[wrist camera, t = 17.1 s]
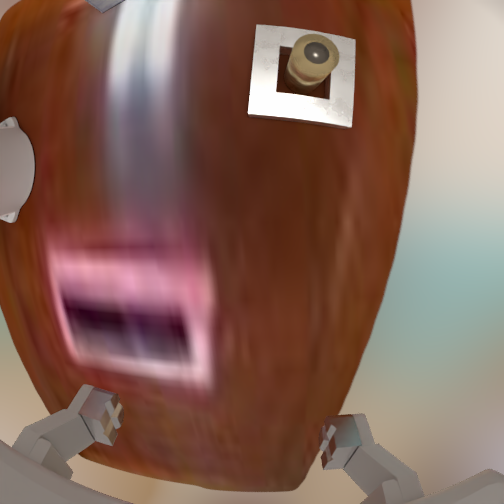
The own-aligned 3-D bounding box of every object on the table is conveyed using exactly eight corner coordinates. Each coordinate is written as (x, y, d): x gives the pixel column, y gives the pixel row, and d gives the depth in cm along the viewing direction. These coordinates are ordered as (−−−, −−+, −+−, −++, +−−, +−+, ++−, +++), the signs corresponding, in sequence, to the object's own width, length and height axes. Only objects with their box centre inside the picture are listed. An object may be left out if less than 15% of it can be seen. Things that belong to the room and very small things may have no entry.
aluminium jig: (249, 117, 32) (248, 113, 29) (256, 33, 28) (256, 24, 25) (344, 129, 32) (351, 127, 29) (348, 47, 28) (355, 39, 26)
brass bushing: (282, 91, 31) (291, 69, 22) (284, 61, 30) (294, 30, 20) (317, 96, 31) (339, 77, 22) (319, 65, 30) (340, 38, 20)
